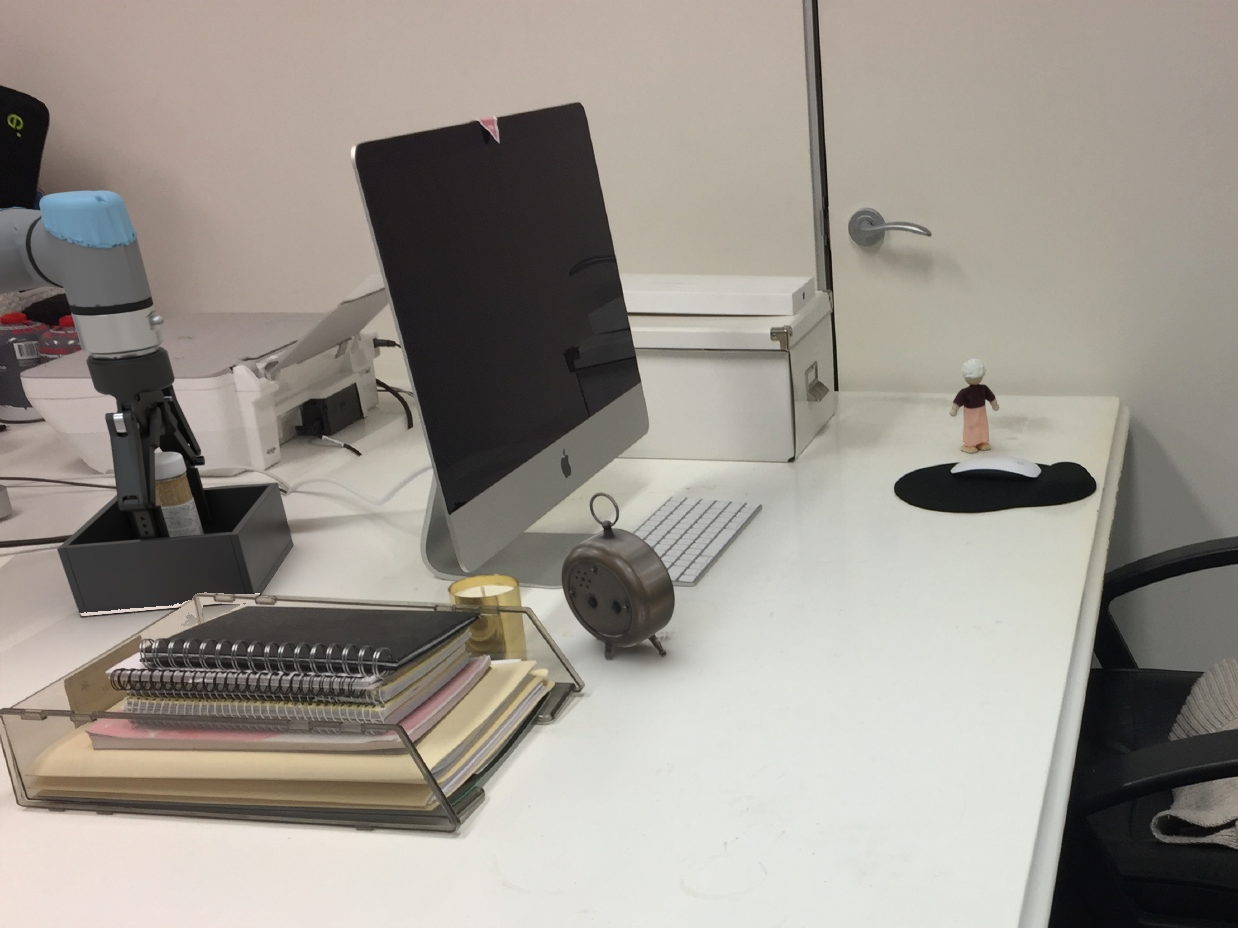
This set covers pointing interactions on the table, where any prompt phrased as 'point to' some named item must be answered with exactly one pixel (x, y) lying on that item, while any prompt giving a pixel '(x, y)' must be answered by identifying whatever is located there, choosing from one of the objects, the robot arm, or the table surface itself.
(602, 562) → the alarm clock
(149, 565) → the basket
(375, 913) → the table surface
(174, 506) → the sprinkles bottle
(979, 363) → the grandmother figurine
